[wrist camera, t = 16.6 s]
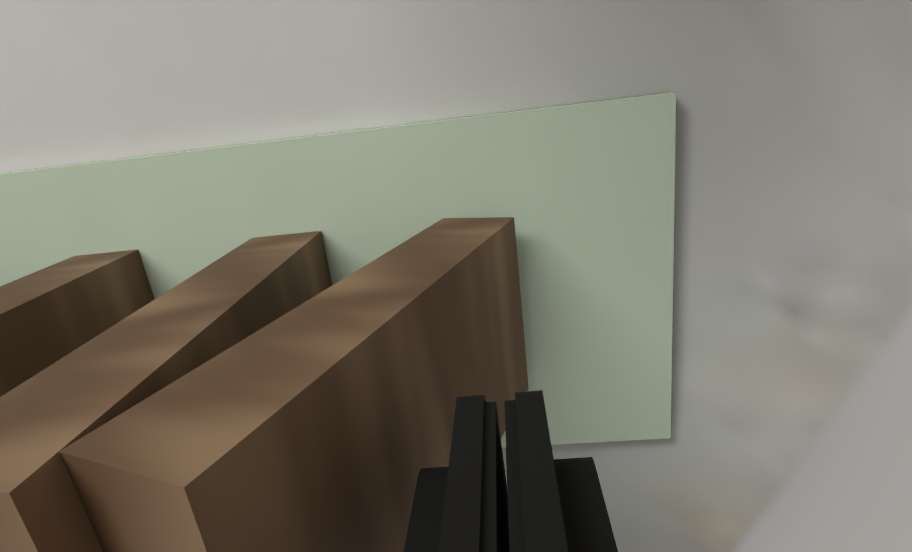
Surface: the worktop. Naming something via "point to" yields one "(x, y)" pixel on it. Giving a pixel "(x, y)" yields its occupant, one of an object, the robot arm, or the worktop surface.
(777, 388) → the worktop surface
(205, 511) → the domino
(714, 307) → the worktop surface
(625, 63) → the worktop surface
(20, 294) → the domino
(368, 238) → the mat
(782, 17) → the worktop surface
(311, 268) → the domino
